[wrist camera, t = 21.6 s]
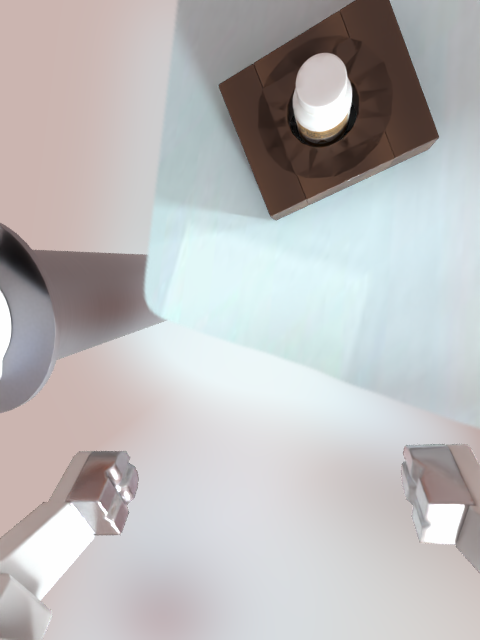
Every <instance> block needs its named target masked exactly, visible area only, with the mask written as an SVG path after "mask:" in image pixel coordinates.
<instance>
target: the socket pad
mask: <svg viewBox="0 0 480 640" xmlns="http://www.w3.org/2000/svg"><path fill="white" fill-rule="evenodd" d="M320 53H331V54H334V55H336V56H337V57H339V58H340V59H341V60H342V62H343V63H344V65H345V67H346V71H347V77H348V79H349V81H350V83H351V87H352V103H353V105H354V108H355V111H356V120H355V123H354V125H353V127H352V129H351V130H350V131H349V132H348V133H347V134H346V135H345V136H344V137H343V139H341V140H339V141H337V142H336V143H334V144H332V145H330V146H325V147H312V146H309V145H306V144H303V143H301V142H300V141H299V140H298V139H297V138H296V137H295V136H294V135H293V134H292V131H291V119H292V116H293V114H294V110H293V95H294V91H295V88H296V78H297V74H298V71H299V70H300V68H301V66H302V65H303V64H304V63H305V62H306V61H307V60H308V59H309V58H310V57H312V56H314V55H316V54H320ZM219 89H220V91H221V94H222V96H223V99H224V101H225V104H226V106H227V109H228V111H229V114H230V116H231V119H232V121H233V124H234V126H235V129H236V131H237V134H238V136H239V139H240V142H241V144H242V147H243V149H244V152H245V154H246V157H247V159H248V162H249V164H250V167H251V169H252V172H253V174H254V177H255V179H256V182H257V184H258V187H259V189H260V192H261V194H262V197H263V199H264V202H265V204H266V207H267V209H268V212H269V214H270V216H271V217H272V218H273V219H274V220H278V219H280V218H282V217H284V216H287V215H289V214H291V213H293V212H295V211H297V210H299V209H302V208H304V207H306V206H308V205H310V204H313V203H315V202H317V201H319V200H321V199H323V198H325V197H328V196H330V195H332V194H334V193H336V192H338V191H340V190H343V189H345V188H347V187H349V186H351V185H353V184H355V183H358V182H360V181H362V180H364V179H366V178H368V177H371V176H373V175H375V174H377V173H379V172H381V171H383V170H386V169H388V168H390V167H392V166H394V165H396V164H398V163H400V162H403V161H405V160H407V159H409V158H411V157H413V156H415V155H418V154H420V153H422V152H424V151H426V150H428V149H429V148H430V147H431V146H432V145H433V144H434V143H435V141H436V140H437V139H438V138H439V135H438V132H437V130H436V127H435V124H434V121H433V119H432V116H431V113H430V110H429V108H428V105H427V102H426V99H425V97H424V94H423V91H422V88H421V86H420V83H419V80H418V78H417V75H416V72H415V69H414V67H413V64H412V61H411V58H410V56H409V53H408V50H407V47H406V45H405V42H404V39H403V36H402V34H401V31H400V28H399V25H398V23H397V20H396V17H395V15H394V12H393V9H392V6H391V4H390V1H389V0H355V1H354V2H352V3H351V4H349V5H347V6H346V7H344V8H342V9H341V10H340V11H338V12H336V13H335V14H333V15H331V16H330V17H328V18H326V19H325V20H323V21H322V22H320V23H318V24H317V25H315V26H313V27H312V28H310V29H308V30H307V31H305V32H304V33H302V34H300V35H299V36H297V37H295V38H294V39H292V40H291V41H289V42H287V43H286V44H284V45H282V46H281V47H279V48H278V49H276V50H274V51H273V52H271V53H269V54H268V55H266V56H265V57H263V58H261V59H260V60H258V61H256V62H255V63H254V64H252V65H250V66H248V67H247V68H245V69H243V70H242V71H240V72H239V73H237V74H235V75H234V76H232V77H230V78H229V79H227V80H226V81H224V82H222V83H221V84H219Z"/></svg>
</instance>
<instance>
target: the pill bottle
mask: <svg viewBox="0 0 480 640" xmlns="http://www.w3.org/2000/svg"><path fill="white" fill-rule="evenodd" d="M351 102H352V87H351V83H350V81H349V79H348V77H347V71H346V67H345V65H344V63H343V62H342V60H341V59H340V58H339V57H337V56H336V55H334V54H331V53H320V54H316V55H314V56H312V57H310V58H309V59H308V60H307V61H306V62H305V63H304V64H303V65H302V66H301V68H300V70H299V71H298V74H297V78H296V88H295V91H294V95H293V110H294V115H295V119H296V124H297V128H298V132H299V135H300V137H301V139H302V140H303V141H304V142H305V143H306V144H307V145H309V146H312V147H325V146H330V145H332V144H334V143H336V142H337V141H339V140H340V139H341V138H342V136H343V135H344V133H345V131H346V129H347V126H348V122H349V115H350V108H351Z"/></svg>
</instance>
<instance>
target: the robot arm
mask: <svg viewBox="0 0 480 640" xmlns="http://www.w3.org/2000/svg"><path fill="white" fill-rule="evenodd" d="M10 338H11V317H10V312H9V308H8V305H7V302H6V300H5V297H4V295H3V293H2V292H1V290H0V379H1V376H2V361H3V357H4V355H5V353H6V350H7V348H8V345H9V342H10ZM403 455H404V458H405V462H403V463H402V468H401V475H402V476H401V477H402V484H403V489H404V493H405V496H406V499H407V500H408V501H409V502H410V503H411V504H412V505H413V511H412V519H413V523H414V526H415V529H416V532H417V536H418V539H419V542H420V543H433V544H454V545H456V547H457V548H458V550H459V551H460V552H461V553H462V554H463V555H464V556H465V558H466V559H467V560H468V561H469V562H470V563H471V564H472V565H473V567H474V568H475V569H476V570H477V571H478V572H479V573H480V464H479V462H478V460H477V459H476V457H475V455H474V453H473V451H472V449H471V448H470V447H469V446H468V445H466V444H452V445H445V444H433V445H432V444H430V445H406V446H405V447H404V451H403ZM129 459H130V457H129V455H128V453H127V452H126V451H79V452H78V453H77V454H76V455H75V456H74V457H73V459H72V460H71V462H70V464H69V466H68V468H67V469H66V471H65V473H64V474H63V476H62V478H61V480H60V482H59V483H58V485H57V487H56V489H55V491H54V492H53V494H52V496H51V497H50V499H49V501H48V502H43V503H42V504H41V505H39V506H38V507H37V508H36V509H35V510H33V511H32V512H31V513H30V514H29V515H27V516H26V517H25V518H24V519H23V520H21V521H20V522H19V523H18V524H17V525H16V526H14V527H13V528H12V529H11V530H9V531H8V532H7V533H6V534H5V535H3V536H2V537H1V538H0V640H42V639H43V637H44V634H45V632H46V630H47V627H48V625H49V623H50V620H51V618H52V611H51V609H49V608H48V607H47V606H46V605H45V604H44V603H42V602H41V601H40V600H41V599H42V598H43V597H44V596H45V594H46V593H47V592H48V591H49V590H50V589H51V588H52V586H53V585H54V584H55V583H56V582H57V580H58V579H59V578H60V577H61V576H62V575H63V574H64V572H65V571H66V570H67V569H68V568H69V567H70V565H71V564H72V563H73V562H74V561H75V560H76V558H77V557H78V556H79V555H80V554H81V553H82V551H83V550H84V549H85V548H86V547H87V546H88V544H89V543H90V542H91V541H92V540H93V539H94V537H95V536H94V535H121V533H122V531H123V528H124V525H125V522H126V519H127V517H128V514H129V511H128V507H127V505H128V503H129V502H131V501H132V500H133V499H134V497H135V494H136V491H137V488H138V472H137V470H136V468H135V466H133V465H131V464H130V463H128V462H129Z"/></svg>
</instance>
